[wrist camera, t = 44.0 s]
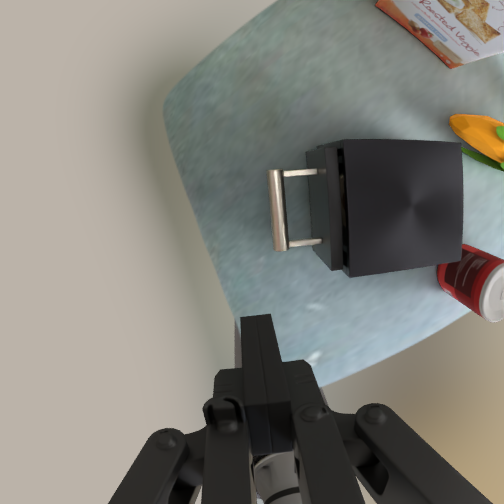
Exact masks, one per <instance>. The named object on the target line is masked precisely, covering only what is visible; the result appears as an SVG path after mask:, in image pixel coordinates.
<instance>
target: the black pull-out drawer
mask: <svg viewBox="0 0 504 504" xmlns="http://www.w3.org/2000/svg"><path fill="white" fill-rule="evenodd" d="M306 158H307V169H300V170H287V171H283V169H273V170H267V171H266V172H267V182H268V193H269V204H270V215H271V226H272V238H273V249H274V251H286V250H288V249H289V247H296V246H305V245H313V251H314V252H315V253H316V254H317V255H318V256H319V257H320V259H321V260H322V261H323V262H324V263H325V264H326V265H327V266H328V267H329V268H330V270H331V271H334V270H342V269H343V250H344V251H345V252H346V253H347V241H346V227H345V226H343V225H342V212H341V194H340V179H339V172H340V171H342V170H343V166H342V155H339V156H338V153H337V147H324V148H320V149H316V150H311V151H307V152H306ZM303 175H308V182H309V194H310V208H311V224H312V238H306V239H297V240H289V237H288V224H287V211H286V199H285V187H284V177H290V176H303Z"/></svg>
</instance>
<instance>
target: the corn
mask: <svg viewBox="0 0 504 504" xmlns="http://www.w3.org/2000/svg"><path fill="white" fill-rule="evenodd" d="M449 125H450V127H451V128H452V129H453V131H454V132H455V134H456V135H458V136H459V137H460V138H462V139H463V140H464V141H466V142H467V143H468V144H470V145H471V146H472V147H474V148H475V149H477V150H479V151H480V152H482V153H483V154H485V155H486V156H485V155H482V154H479V153H476V152H474V151H471V150H468V149H466V148H463V147H461V149H462V152H464V153H466V154H467V155H469V156H470V157H472V158H474V159H475V160H477V161H479V162H482V163H484V164H486V165H488V166H491V167H493V168H495V169H498V170H501V171H504V123H502V122H500V121H497V120H495V119H493V118H491V117H488V116H481V115H467V114H455V115H453V116H451V117H450V121H449Z"/></svg>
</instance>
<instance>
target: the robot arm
mask: <svg viewBox="0 0 504 504" xmlns="http://www.w3.org/2000/svg"><path fill="white" fill-rule="evenodd" d="M240 321H241V348H242V368H234V369H222V370H220V371H219V372H218V373H217V375H216V376H215V380H214V391H213V392H214V393H213V398H211V399H209V400H208V401H207V402H206V403H205V404H204V406H203V413H204V417H205V420H206V424H207V425H206V426H205V427H204V428H203V429H201V430H199V431H196V432H193V433H190V434H185V435H184V434H183V433H182V432H181V431H180V430H177V429H174V428H165V429H161V430H158V431H156V432H154V433H153V434H152V435H151V436H150V437H149V438H148V440H147V441H146V443H145V445H144V447H143V448H142V450H141V451H140V453H139V455H138V456H137V458H136V460H135V461H134V463H133V464H132V466H131V468H130V469H129V471H128V472H127V474H126V476H125V477H124V479H123V480H122V482H121V484H120V485H119V487H118V488H117V490H116V492H115V493H114V495H113V496H112V498H111V500H110V501H109V503H108V504H195V501H196V499H197V497H198V494H199V491H200V489H201V486H202V499H201V504H257V498H256V489H257V491H258V493H259V495H260V497H261V498H262V500H263V502H264V504H365V501H364V499H363V496H362V493H361V490H360V487H359V484H358V482H357V479H356V477H357V478H358V480H359V481H360V482H361V483H362V485H363V486H364V487H365V489H366V490H367V491H368V493H369V494H370V495H371V497H372V498H373V499H374V500H375V502H376V503H377V504H493V503H491V502H490V501H489V500H488V499H487V498H486V497H485V496H484V495H483V494H481V492H479V491H478V490H477V489H476V488H475V487H474V486H473V485H472V484H471V483H470V482H468V481H467V480H466V479H465V478H464V477H463V476H462V475H461V474H460V473H459V472H458V471H457V470H455V469H454V468H453V467H452V466H451V465H450V464H449V463H448V462H447V461H446V460H445V459H444V458H443V457H441V456H440V455H439V454H438V453H437V452H436V451H435V450H434V449H433V448H432V447H431V446H430V445H429V444H428V443H426V442H425V441H424V440H423V439H422V438H421V437H420V436H419V435H418V434H417V433H416V432H415V431H414V430H413V429H412V428H410V427H409V426H408V425H407V424H406V423H405V422H404V421H403V420H402V419H401V418H400V417H399V416H398V415H397V414H396V413H395V412H394V411H393V410H392V409H390V408H389V407H387V406H385V405H383V404H378V403H377V404H376V403H371V404H367V405H364V406H363V407H361V408H360V409H359V410H358V411H357V412H356V414H342V413H337V412H334V411H332V410H331V409H330V408H329V407H328V406H326V405H325V403H324V401H323V398H322V395H321V393H320V390H319V387H318V384H317V382H316V379H315V376H314V374H313V371H312V368H311V365H309V364H308V363H307V362H306V361H305V360H296V361H289V362H282V360H281V356H280V351H279V347H278V343H277V339H276V334H275V330H274V326H273V322H272V317H271V314H265V315H256V316H246V317H240ZM258 455H261V456H260V457H258V458H257V459H256V460H255V462H254V463H253V457H252V456H258Z"/></svg>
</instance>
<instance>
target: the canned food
mask: <svg viewBox="0 0 504 504" xmlns="http://www.w3.org/2000/svg"><path fill="white" fill-rule="evenodd" d="M437 277H438V281H439V284H440V286H441V287H442V289H443V290H444V291H445V292H446V293H448V294H449V295H451V296H452V297H454V298H455V299H457V300H458V301H459V302H461V303H462V304H464V305H465V306H467V307H468V308H469V309H471V310H472V311H474V312H475V313H477V314H478V315H480V316H481V317H483V318H484V319H486V320H488V321H490V322H498V321H500V320H502V319H503V318H504V260H503V259H501V258H498V257H496V256H493V255H491V254H489V253H486V252H484V251H481V250H479V249H476V248H474V247H471V246H469V245H466V244H462V251H461V261H457V262H451V263H445V264H439V265H438V270H437Z"/></svg>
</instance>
